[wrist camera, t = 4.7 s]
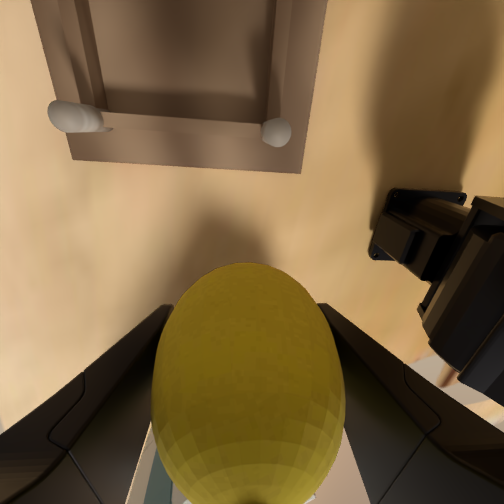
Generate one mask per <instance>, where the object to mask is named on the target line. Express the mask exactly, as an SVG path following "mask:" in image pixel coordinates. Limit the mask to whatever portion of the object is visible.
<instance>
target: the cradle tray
mask: <svg viewBox="0 0 504 504" xmlns="http://www.w3.org/2000/svg"><path fill="white" fill-rule="evenodd" d="M327 1H328V0H31V4H32V8H33V11H34V15H35V19H36V23H37V27H38V30H39V34H40V38H41V42H42V45H43V49H44V53H45V57H46V61H47V64H48V68H49V72H50V76H51V80H52V83H53V87H54V91H55V95H56V98H57V100H55V101H53V102H51V103H50V104H49V106H48V116H49V119H50V121H51V122H52V124H53V125H54V126H55V127H56V128H57V129H59V130H61V131H63V132H66V136H67V140H68V144H69V148H70V151H71V155H72V159H73V160H83V161H99V162H116V163H132V164H148V165H165V166H181V167H197V168H213V169H230V170H246V171H262V172H279V173H295V174H301V169H302V162H303V156H304V149H305V143H306V136H307V130H308V123H309V117H310V110H311V104H312V98H313V91H314V85H315V78H316V72H317V65H318V59H319V52H320V46H321V39H322V33H323V26H324V20H325V14H326V7H327Z"/></svg>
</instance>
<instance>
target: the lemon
mask: <svg viewBox="0 0 504 504" xmlns="http://www.w3.org/2000/svg"><path fill="white" fill-rule="evenodd" d="M345 405H346V398H345V387H344V379H343V373H342V368H341V363H340V359H339V356H338V352H337V349H336V345H335V342H334V338H333V335H332V332H331V329H330V327H329V324H328V322H327V320H326V318H325V316H324V314H323V313H322V311H321V310H320V308H319V306H318V305H317V304H316V302H315V301H314V300H313V298H312V297H311V295H310V294H309V293H308V292H307V290H306V289H305V288H304V287H303V286H302V285H301V284H300V283H298V282H297V281H296V280H294V279H293V278H292V277H291V276H289V275H288V274H286V273H285V272H283V271H281V270H278V269H276V268H274V267H271V266H269V265H264V264H258V263H252V262H245V263H233V264H230V265H226V266H223V267H219V268H216V269H215V270H213V271H211V272H209V273H208V274H206V275H204V276H202V277H201V278H200V279H198V280H197V281H196V282H195V283H194V284H193V285H192V286H191V287H190V288H189V289H188V290H187V291H186V292H185V293H184V294H183V295H182V296H181V298H180V299H179V301H178V302H177V304H176V306H175V308H174V310H173V311H172V313H171V315H170V317H169V319H168V321H167V323H166V324H165V327H164V329H163V332H162V334H161V337H160V340H159V344H158V348H157V353H156V358H155V365H154V372H153V380H152V388H151V423H152V431H153V435H154V439H155V443H156V446H157V450H158V453H159V456H160V459H161V461H162V463H163V466H164V468H165V470H166V472H167V474H168V475H169V477H170V478H171V480H172V481H173V483H174V484H175V486H176V487H177V488H178V490H179V491H180V492H181V493H182V494H183V495H184V496H185V497H186V498H187V499H188V500H189V501H190V502H191V503H192V504H304V503H305V502H306V501H307V500H308V499H310V498H311V497H312V496H313V494H314V493H315V492H316V490H317V489H318V488H319V486H320V485H321V484H322V482H323V480H324V479H325V477H326V476H327V474H328V472H329V470H330V468H331V467H332V465H333V463H334V461H335V458H336V456H337V453H338V450H339V447H340V444H341V439H342V433H343V427H344V421H345Z"/></svg>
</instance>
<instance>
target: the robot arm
mask: <svg viewBox="0 0 504 504" xmlns="http://www.w3.org/2000/svg"><path fill="white" fill-rule="evenodd" d="M397 192H398V193H397ZM395 193H397V196H395V197H394V195H395ZM459 197H460V198H459ZM458 198H459V199H458ZM466 198H467V195H466V193H463V192H458V191H441V190H424V189H407V188H394V189H392V190H391V191H390V192H389V194H388V197H387V200H386V203H385V206H384V209H383V212H382V214H381V216H380V219H379V222H378V225H377V228H376V231H375V234H374V237H373V242H372V245H371V248H370V251H369V257H370V258H371V259H373V260H389V261H397V262H398V263H399V264H401V265H403V266H404V267H406V268H407V269H408V270H409V271H410V272H412V273H413V274H414V275H415V276H417V277H418V278H419V279H420V280H422V281H426V282H428V283H429V284H430V285H431V286H430V288H429V290H428V292H427V294H426V296H425V298H424V300H423V302H422V303H420V304H419V306H418V308H417V311H418V313H419V315H420V317H421V319H422V326H423V328H424V330H425V332H426V334H427V335H428V337H429V341H428V344H429V345H430V347H431V348H432V349H433V350H434V351H435V352H436V354H437V355H438V356H439V357H440V358H441V359H443V360H444V361H445V362H446V363H447V364H448V365H449V366H451V367H452V368H453V369H454V370H455V371H457V372H458V373H460V374H459V375H458V376H457V379H458V380H459V381H460V382H461V383H463V384H465V385H467V386H469V387H471V388H473V389H475V390H477V391H479V392H481V393H483V394H484V395H486V396H487V397H489V398H491V399H492V400H494V401H495V402H497V403H498V404H500V405H501V406H503V407H504V198H500V197H486V196H475V197H474V199H473V201H472V203H471V205H472V208H471V209H470V208H467V207H464V206H463V205H464V203H465V201H466ZM375 253H377V254H376V255H374V254H375ZM317 305H318V306H319V308H320V310H321V311H322V313H323V314H324V316H325V318H326V320H327V322H328V324H329V327H330V329H331V332H332V335H333V338H334V342H335V345H336V349H337V352H338V356H339V359H340V363H341V368H342V373H343V379H344V387H345V398H346V405H345V421H344V428H345V431H346V434H347V437H348V440H349V442H350V446H351V448H352V451H353V454H354V457H355V460H356V463H357V466H358V469H359V471H360V474H361V477H362V480H363V483H364V486H365V489H366V492H367V494H368V497H369V500H370V503H371V504H504V433H503V432H502V431H500V430H499V429H497V428H496V427H494V426H493V425H491V424H490V423H489V422H487V421H486V420H484V419H483V418H481V417H480V416H478V415H477V414H475V413H474V412H472V411H471V410H469V409H468V408H466V407H465V406H463V405H462V404H460V403H459V402H457V401H456V400H454V399H453V398H451V397H450V396H448V395H447V394H446V393H444V392H443V391H442V390H440V389H439V388H437V387H436V386H434V385H433V384H432V383H430V382H429V381H427V380H426V379H425V378H423V377H422V376H421V375H419V374H418V373H417V372H415V371H414V370H413V369H411V368H410V367H409V366H408V365H406V364H404V363H403V362H402V361H401V360H400V359H398V358H397V357H396V356H395V355H393V354H392V353H391V352H389V351H388V350H387V349H385V348H384V347H383V346H382V345H380V344H379V343H378V342H376V341H375V340H374V339H372V338H371V337H370V336H369V335H367V334H366V333H365V332H363V331H362V330H361V329H359V328H358V327H357V326H356V325H354V324H353V323H352V322H350V321H349V320H348V319H346V318H345V317H344V316H343V315H341V314H340V313H339V312H337V311H336V310H335V309H333V308H332V307H331V306H330V305H328V304H327V303H317ZM173 310H174V306H173V305H172V304H164V305H161V306H160V307H159V308H157V309H156V310H155V311H154V312H153V313H151V314H150V315H149V316H148V317H147V318H145V319H144V320H143V321H142V322H141V323H139V324H138V325H137V326H136V327H135V328H133V329H132V330H131V331H130V332H129V333H128V334H126V335H125V336H124V337H123V338H122V339H120V340H119V341H118V342H117V343H116V344H114V345H113V346H112V347H111V348H110V349H108V350H107V351H106V352H105V353H104V354H102V355H101V356H100V357H99V358H98V359H97V360H95V361H94V362H93V363H92V364H91V365H89V366H88V367H87V368H86V369H85V370H84V372H81V373H80V374H79V375H77V376H76V377H75V378H74V379H73V380H71V381H70V382H69V383H68V384H66V385H65V386H64V387H63V388H62V389H60V390H59V391H58V392H57V393H55V394H54V395H53V396H52V397H50V398H49V399H48V400H46V401H45V402H44V403H42V404H41V405H40V406H38V407H37V408H36V409H34V410H33V411H32V412H30V413H29V414H28V415H26V416H25V417H24V418H22V419H21V420H20V421H18V422H17V423H16V424H14V425H13V426H11V427H10V428H9V429H7V430H6V431H5V432H3V433H2V434H1V435H0V504H125V501H126V498H127V495H128V492H129V488H130V486H131V482H132V479H133V476H134V473H135V470H136V466H137V463H138V460H139V457H140V454H141V450H142V447H143V444H144V441H145V438H146V434H147V431H148V428H149V425H150V422H151V388H152V380H153V372H154V365H155V358H156V353H157V348H158V344H159V340H160V337H161V334H162V332H163V329H164V327H165V324H166V323H167V321H168V319H169V317H170V315H171V313H172V311H173Z"/></svg>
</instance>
